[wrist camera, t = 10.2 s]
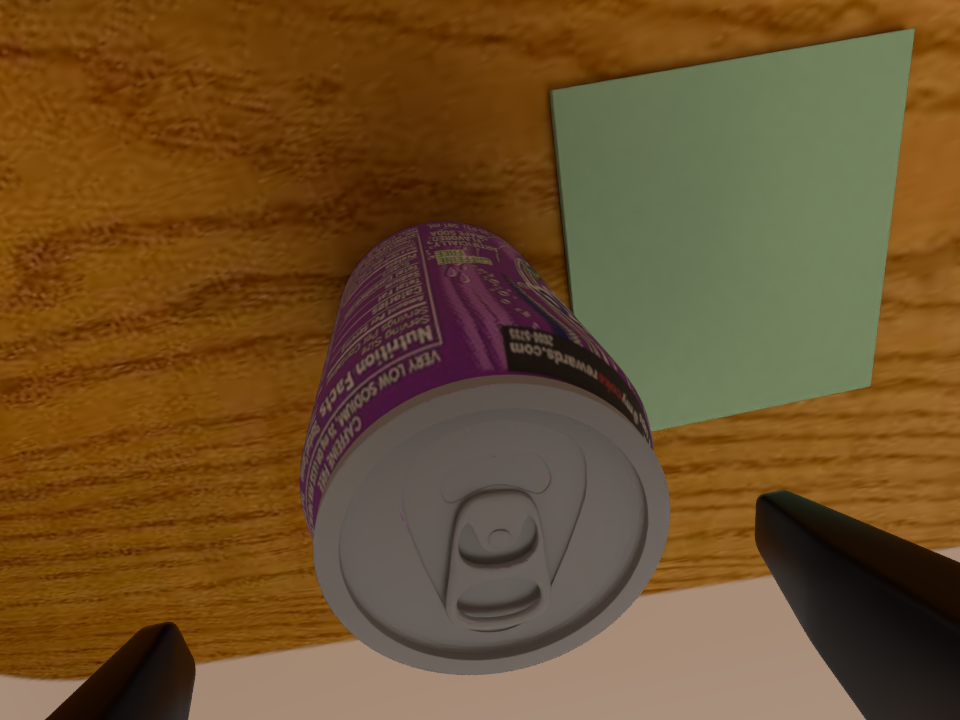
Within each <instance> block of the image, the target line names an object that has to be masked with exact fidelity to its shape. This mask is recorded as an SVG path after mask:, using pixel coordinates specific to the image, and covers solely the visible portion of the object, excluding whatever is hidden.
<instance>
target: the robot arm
mask: <svg viewBox="0 0 960 720" xmlns="http://www.w3.org/2000/svg"><path fill="white" fill-rule="evenodd" d="M755 541H756V545H757V548H758V550H759V552H760V554H761V556H762V557H763V559H764V561H765V563H766V564H767V566H768V568H769V570H770V571H771V573H772V575H773V577H774V578H775V580H776V582H777V584H778V586H779V587H780V589H781V591H782V593H783V594H784V596H785V598H786V599H787V601H788V603H789V605H790V606H791V608H792V610H793V612H794V614H795V615H796V617H797V619H798V620H799V622H800V624H801V626H802V627H803V629H804V631H805V632H806V634H807V636H808V637H809V639H810V641H811V642H812V644H813V645H814V647H815V648H816V649H817V651H818V652H819V654H820V655H821V657H822V658H823V660H824V661H825V662H826V664H827V665H828V667H829V668H830V669H831V671H832V672H833V674H834V675H835V677H836V678H837V679H838V681H839V682H840V684H841V685H842V686H843V688H844V689H845V691H846V692H847V694H848V695H849V696H850V698H851V699H852V700H853V702H854V703H855V705H856V706H857V708H858V709H859V710H860V712H861V713H862V715H863V716H864V717H865V719H866V720H960V563H959V562H957V561H955V560H952V559H950V558H947V557H945V556H943V555H940V554H938V553H936V552H933V551H931V550H928V549H926V548H924V547H921V546H919V545H916V544H914V543H912V542H909V541H907V540H904V539H902V538H900V537H897V536H895V535H893V534H890V533H888V532H885V531H883V530H881V529H878V528H876V527H873V526H871V525H869V524H866V523H864V522H861V521H859V520H857V519H854V518H852V517H849V516H847V515H845V514H842V513H840V512H837V511H835V510H833V509H830V508H828V507H825V506H823V505H821V504H818V503H816V502H813V501H811V500H809V499H806V498H804V497H801V496H799V495H797V494H794V493H792V492H789V491H786V490H779V491H774V492H770V493H765V494H762V495H760V496H759V497H758V498H757V501H756V517H755ZM194 681H195V662H194V659H193V656H192V654H191V652H190V650H189V648H188V646H187V644H186V642H185V640H184V638H183V636H182V634H181V632H180V630H179V628H178V627H177V625H176V624H174V623H173V622H164V623H160V624H155V625H150V626H147V627H144V628H142V629H141V630H139V631H138V632H137V633H136V634H135V635H134V636H133V637H132V638H131V639H130V640H129V641H128V642H127V643H126V644H124V645H123V646H122V647H121V648H120V649H119V650H118V651H117V652H116V653H115V654H114V655H113V656H112V657H111V658H110V659H109V660H108V661H107V662H105V663H104V664H103V665H102V666H101V667H100V668H99V669H98V670H97V671H96V672H95V673H94V674H93V675H92V676H91V677H90V678H89V679H88V680H87V681H85V682H84V683H83V684H82V685H81V686H80V687H79V688H78V689H77V690H76V691H75V692H74V693H73V694H72V695H71V696H70V697H69V698H68V699H66V700H65V701H64V702H63V703H62V704H61V705H60V706H59V707H58V708H57V709H56V710H55V711H54V712H53V713H52V714H51V715H50V716H49V717H47V718H46V719H45V720H188V716H189V711H190V705H191V699H192V693H193V687H194Z"/></svg>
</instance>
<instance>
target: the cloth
mask: <svg viewBox="0 0 960 720" xmlns="http://www.w3.org/2000/svg"><path fill="white" fill-rule="evenodd" d="M914 32H915V29H914V28H911V29H905V30H899V31H893V32H887V33H881V34H876V35H870V36H864V37H858V38H852V39H846V40H841V41H835V42H829V43H823V44H817V45H811V46H806V47H800V48H794V49H788V50H782V51H777V52H771V53H765V54H759V55H753V56H747V57H742V58H736V59H730V60H724V61H718V62H712V63H707V64H701V65H695V66H689V67H683V68H677V69H672V70H666V71H660V72H654V73H648V74H642V75H637V76H631V77H625V78H619V79H613V80H608V81H602V82H596V83H590V84H584V85H578V86H573V87H567V88H561V89H555V90H550V91H549V95H550V105H551V115H552V125H553V135H554V145H555V155H556V165H557V175H558V185H559V195H560V205H561V216H562V226H563V236H564V246H565V256H566V266H567V276H568V286H569V296H570V306H571V312H572V313H573V314H574V315H575V317H576V318H577V319H578V320H579V321H580V322H581V323H582V325H583V326H584V327H585V328H586V329H587V330H588V331H589V332H590V334H591V335H592V336H593V337H594V338H595V339H596V340H597V341H598V343H599V344H600V345H601V346H602V347H603V348H604V349H605V351H606V352H607V353H608V354H609V355H610V356H611V357H612V359H613V360H614V361H615V362H616V363H617V365H618V366H619V367H620V368H621V369H622V371H623V372H624V373H625V374H626V375H627V377H628V378H629V380H630V382H631V383H632V385H633V386H634V388H635V389H636V391H637V393H638V395H639V397H640V399H641V401H642V403H643V405H644V408H645V410H646V413H647V416H648V420H649V423H650V428H651V432H652V431H657V430H662V429H667V428H672V427H676V426H681V425H686V424H691V423H696V422H701V421H705V420H710V419H715V418H720V417H725V416H729V415H734V414H739V413H744V412H749V411H754V410H758V409H763V408H768V407H773V406H778V405H783V404H787V403H792V402H797V401H802V400H807V399H811V398H816V397H821V396H826V395H831V394H836V393H840V392H845V391H850V390H855V389H860V388H864V387H869V386H870V385H871V377H872V369H873V361H874V353H875V345H876V337H877V329H878V321H879V313H880V305H881V297H882V289H883V281H884V273H885V265H886V257H887V249H888V241H889V232H890V224H891V216H892V208H893V200H894V192H895V184H896V176H897V168H898V160H899V152H900V144H901V136H902V128H903V120H904V112H905V104H906V96H907V88H908V80H909V72H910V64H911V56H912V48H913V40H914Z"/></svg>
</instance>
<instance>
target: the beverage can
mask: <svg viewBox="0 0 960 720" xmlns="http://www.w3.org/2000/svg"><path fill="white" fill-rule="evenodd" d="M300 495H301V503H302V507H303V512H304V516H305V519H306V522H307V525H308V529H309V531H310V533H311V536H312V538H313V558H314V566H315V571H316V576H317V579H318V582H319V585H320V588H321V591H322V593H323V595H324V597H325V599H326V601H327V603H328V605H329V606H330V608H331V610H332V611H333V613H334V614H335V615H336V617H337V618H338V619H339V621H340V622H341V623H342V624H343V625H344V626H345V627H346V628H347V629H348V630H349V631H350V632H351V633H352V634H353V635H354V636H355V637H356V638H358V639H359V640H360V641H361V642H363V643H364V644H366V645H367V646H368V647H370V648H371V649H373V650H375V651H376V652H378V653H380V654H382V655H384V656H386V657H388V658H390V659H392V660H394V661H397V662H399V663H402V664H405V665H408V666H411V667H414V668H418V669H422V670H426V671H431V672H437V673H445V674H456V675H483V674H494V673H502V672H508V671H513V670H517V669H522V668H526V667H530V666H533V665H536V664H540V663H543V662H545V661H548V660H551V659H553V658H556V657H558V656H561V655H563V654H565V653H567V652H569V651H571V650H573V649H575V648H577V647H579V646H580V645H582V644H584V643H586V642H587V641H589V640H590V639H592V638H593V637H595V636H596V635H598V634H599V633H601V632H602V631H603V630H605V629H606V628H607V627H608V626H610V625H611V624H612V623H613V622H614V621H615V620H617V618H619V617H620V616H621V615H622V614H623V613H624V612H625V611H626V610H627V609H628V608H629V607H630V606H631V605H632V603H633V602H634V601H635V600H636V599H637V598H638V596H639V595H640V594H641V592H642V591H643V590H644V588H645V587H646V585H647V584H648V582H649V581H650V579H651V577H652V575H653V573H654V572H655V570H656V568H657V566H658V563H659V561H660V559H661V556H662V553H663V551H664V548H665V544H666V540H667V536H668V530H669V523H670V499H669V491H668V486H667V482H666V479H665V475H664V472H663V470H662V467H661V465H660V463H659V461H658V459H657V457H656V455H655V453H654V448H653V439H652V433H651V428H650V423H649V420H648V416H647V413H646V410H645V408H644V405H643V403H642V401H641V399H640V397H639V395H638V393H637V391H636V389H635V388H634V386H633V385H632V383H631V382H630V380H629V378H628V377H627V375H626V374H625V373H624V372H623V371H622V369H621V368H620V367H619V366H618V365H617V363H616V362H615V361H614V360H613V359H612V357H611V356H610V355H609V354H608V353H607V352H606V351H605V349H604V348H603V347H602V346H601V345H600V344H599V343H598V341H597V340H596V339H595V338H594V337H593V336H592V335H591V334H590V332H589V331H588V330H587V329H586V328H585V327H584V326H583V325H582V323H581V322H580V321H579V320H578V319H577V318H576V317H575V315H574V314H573V313H572V312H571V311H570V310H569V309H568V308H567V306H566V305H565V304H564V303H563V302H562V301H561V300H560V299H559V297H558V296H557V295H556V294H555V293H554V292H553V291H552V289H551V288H550V287H549V286H548V285H547V284H546V283H545V282H544V280H543V279H542V278H541V277H540V276H539V275H538V274H537V273H536V271H535V270H534V269H533V268H532V267H531V266H530V265H529V263H528V262H527V261H526V260H525V259H524V258H523V257H522V256H521V255H520V253H519V252H518V251H517V250H516V249H515V248H513V247H512V246H511V245H510V244H509V243H507V242H506V241H505V240H503V239H502V238H500V237H499V236H497V235H495V234H493V233H491V232H489V231H487V230H485V229H482V228H479V227H476V226H473V225H469V224H465V223H459V222H448V221H447V222H429V223H423V224H419V225H415V226H411V227H408V228H405V229H403V230H401V231H398V232H396V233H394V234H392V235H390V236H389V237H387V238H385V239H384V240H382V241H381V242H380V243H378V244H377V245H376V246H374V247H373V248H372V249H371V250H370V251H369V252H368V253H367V254H366V255H365V256H364V257H363V258H362V259H361V261H360V262H359V263H358V264H357V266H356V267H355V269H354V270H353V272H352V273H351V275H350V277H349V279H348V281H347V283H346V285H345V288H344V291H343V294H342V297H341V301H340V305H339V309H338V313H337V317H336V321H335V325H334V329H333V333H332V337H331V340H330V344H329V348H328V352H327V356H326V360H325V364H324V368H323V372H322V376H321V380H320V384H319V388H318V392H317V396H316V399H315V403H314V407H313V411H312V415H311V419H310V423H309V427H308V431H307V435H306V440H305V444H304V449H303V454H302V458H301V469H300Z"/></svg>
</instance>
